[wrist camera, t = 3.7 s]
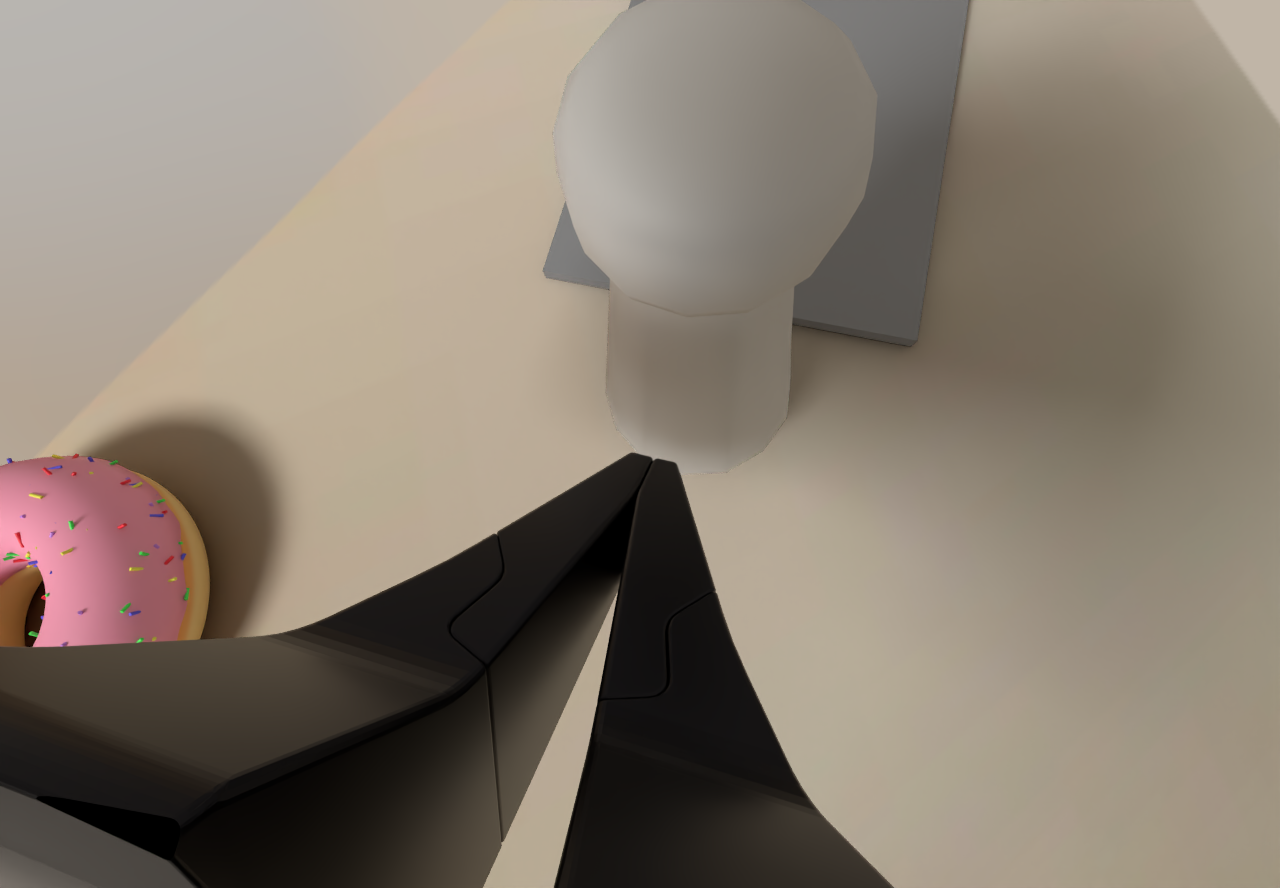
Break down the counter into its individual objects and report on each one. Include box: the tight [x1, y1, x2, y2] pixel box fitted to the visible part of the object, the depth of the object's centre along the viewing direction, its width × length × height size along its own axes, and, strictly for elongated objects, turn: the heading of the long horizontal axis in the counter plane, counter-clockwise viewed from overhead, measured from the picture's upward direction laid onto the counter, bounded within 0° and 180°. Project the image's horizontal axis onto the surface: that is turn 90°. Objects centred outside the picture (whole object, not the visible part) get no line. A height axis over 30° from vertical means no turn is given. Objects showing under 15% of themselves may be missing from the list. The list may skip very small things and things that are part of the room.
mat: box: [543, 0, 969, 346], centre depth 21 cm, size 18×14×1 cm
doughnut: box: [0, 454, 210, 647], centre depth 17 cm, size 11×11×4 cm
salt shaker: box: [553, 0, 877, 475], centre depth 12 cm, size 6×6×13 cm
